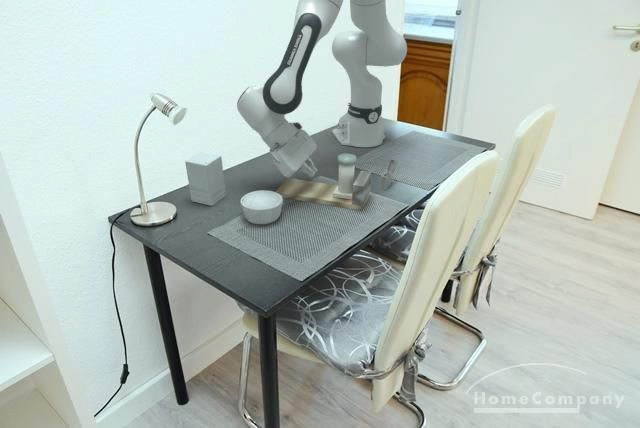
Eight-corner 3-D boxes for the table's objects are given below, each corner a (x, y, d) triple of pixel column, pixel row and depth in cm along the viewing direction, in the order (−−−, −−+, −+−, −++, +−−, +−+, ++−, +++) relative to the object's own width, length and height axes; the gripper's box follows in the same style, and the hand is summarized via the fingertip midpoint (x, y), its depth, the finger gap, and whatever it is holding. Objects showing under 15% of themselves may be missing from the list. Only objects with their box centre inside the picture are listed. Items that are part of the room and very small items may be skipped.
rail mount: (275, 196, 132) (274, 173, 128) (288, 182, 140) (287, 159, 137) (362, 210, 125) (363, 186, 121) (370, 194, 133) (371, 171, 130)
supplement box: (226, 195, 132) (222, 155, 126) (211, 206, 127) (206, 165, 120) (206, 190, 135) (201, 151, 129) (190, 201, 129) (184, 160, 123)
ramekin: (238, 210, 125) (236, 193, 122) (276, 203, 129) (275, 187, 126) (247, 230, 116) (245, 212, 113) (288, 222, 120) (288, 205, 117)
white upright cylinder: (332, 196, 128) (333, 159, 123) (338, 187, 133) (339, 151, 128) (353, 199, 127) (354, 162, 121) (358, 190, 132) (360, 154, 126)
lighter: (384, 190, 136) (386, 166, 132) (379, 189, 137) (381, 164, 133) (395, 182, 141) (397, 158, 137) (390, 180, 142) (392, 157, 138)
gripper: (274, 144, 117) (310, 183, 120) (301, 120, 134) (332, 155, 137) (259, 158, 121) (294, 195, 123) (287, 133, 138) (317, 166, 140)
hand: (314, 174), depth 130 cm, fingers closed
